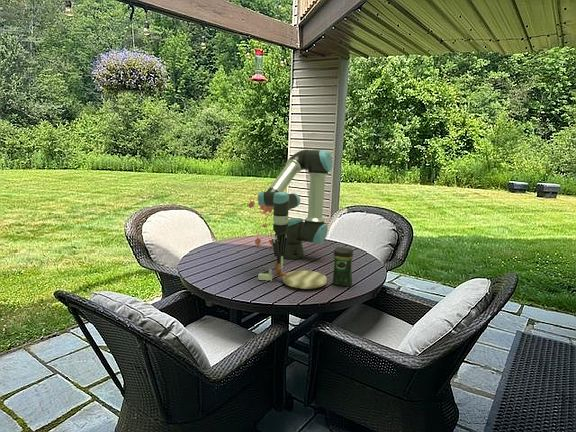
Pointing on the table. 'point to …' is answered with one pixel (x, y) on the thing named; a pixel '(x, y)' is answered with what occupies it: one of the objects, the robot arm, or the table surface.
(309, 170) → the robot arm
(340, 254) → the coffee jar
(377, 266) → the table surface
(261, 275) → the pale green block
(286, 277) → the turntable
